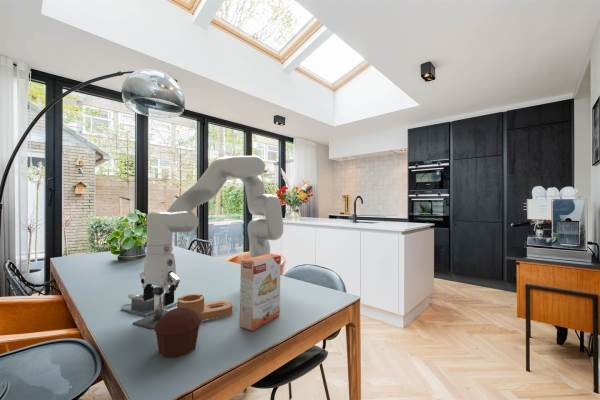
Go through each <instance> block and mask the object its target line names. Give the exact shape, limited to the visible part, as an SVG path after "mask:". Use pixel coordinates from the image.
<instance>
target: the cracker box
mask: <svg viewBox="0 0 600 400" xmlns="http://www.w3.org/2000/svg"><path fill="white" fill-rule="evenodd" d="M281 264H282V256H281V255H279V254H276V253H274V254H273V253H270V254H265V255H261V256H257V257H252V258H249V257H248V258H244V259H241V260H240V282H239V283H240V286H239V290H240V291H239V320H238V323H239V324H238V325H239V326H238V327H240V328H242V329H245V330H247V331H250V332H254V331H255V330H257V329H259V328H260V327H262V326H264V325H265V324H267V323H269V322H270V321H273V320H274V319H276V318H278V317H280V307H281V306H280V303H281V274H282V273H281V269H282V268H281V266H282V265H281Z"/></svg>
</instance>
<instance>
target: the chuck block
mask: <svg viewBox="0 0 600 400" xmlns="http://www.w3.org/2000/svg"><path fill="white" fill-rule="evenodd" d="M127 298H128V299H130V300H131V303H130V304H127V305H124V306H121V307H120V310H121V311H124V312H127V313H131V314H134V315H135V314H136V315H138V316H139V315H140V316H142V317H146V316H147V317H148V316H150V315H152V314H154V294H153V298H152V299H149V300H147V301H144V300H143V294H140V295H137V294H132V293H130V294H128V295H127ZM164 302H165V293H163V310H164V309H166V310H168V309H170V308H173V307H175V306H177V305H176V304H177V302H178V301H174V303H172V304H170V305H167V306H165V305H164ZM174 305H175V306H174ZM172 306H173V307H172ZM169 307H170V308H169ZM167 308H168V309H167Z"/></svg>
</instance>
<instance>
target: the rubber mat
mask: <svg viewBox="0 0 600 400" xmlns="http://www.w3.org/2000/svg"><path fill="white" fill-rule="evenodd" d="M169 311H170V310H169ZM169 311H168V310H163V315H165V314H166V313H167V312H169ZM158 321H159V320H154V314H152V315H150V316H148V317H146V316H144V317H142V318H141V319H138V320H135V321H134V322H132V325H136V326H139V327H142V328H145V327H146V328H145V329H149V330H154V327H155V325H156V324H157V322H158Z"/></svg>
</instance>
